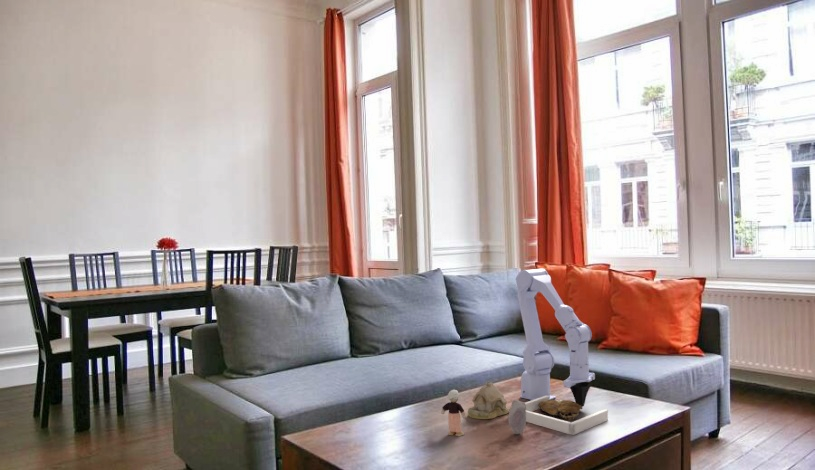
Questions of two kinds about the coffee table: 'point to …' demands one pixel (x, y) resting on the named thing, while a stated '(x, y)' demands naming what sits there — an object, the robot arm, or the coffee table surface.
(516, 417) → the fossil
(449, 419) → the grandmother figurine
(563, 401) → the decorative rock
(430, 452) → the coffee table surface
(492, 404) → the ceramic model
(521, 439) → the coffee table surface
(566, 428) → the box
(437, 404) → the coffee table surface
